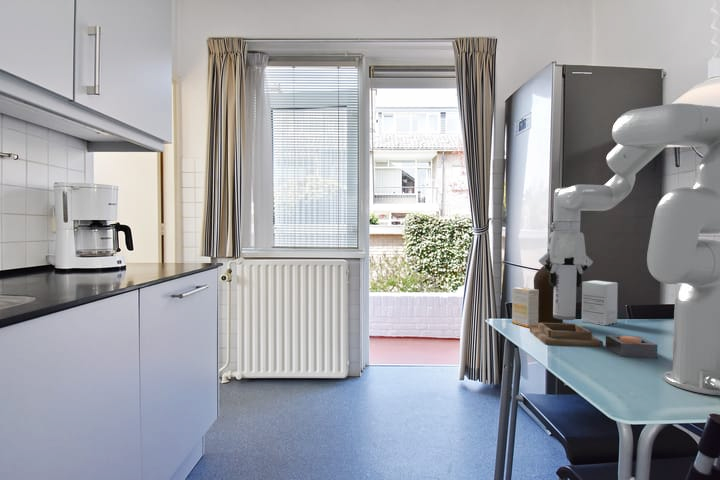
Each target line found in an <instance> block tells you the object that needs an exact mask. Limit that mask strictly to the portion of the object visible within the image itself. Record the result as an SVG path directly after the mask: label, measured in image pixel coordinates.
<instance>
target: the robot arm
mask: <svg viewBox="0 0 720 480" xmlns="http://www.w3.org/2000/svg"><path fill="white" fill-rule="evenodd" d="M611 136H612V140H613V141H614V142H615V143H616V145H615V146H614V147H613V148H612V149H611V150H610V151H609V152H608V153H607V155H606V157H605V158H606V164H607V166H608V167H609V169H610V170H611V171H612V172H613V173H615V174H614V175H613V176H612V177H611V178H610V179H609V180H608V181H607V182H606V183H605V184H603V185H602V184H582V183H581V184H575V185H574V184H573V185H570V186H567V187H559V188H556V189H555V190H554V192H553V213H552V214H553V218H552V223H549V224H548V226H547V228H548V229H551V230H552V231H551V232H550V234H549V239H548V243H547V244H548V245H547V250H546V251H547V252H546V253H545V254H544V255H542V256H541V257H540V258H539V260H538V263H539V264H540V265H542V267H543V266H544V268H545V269H546V270H547V271H548V272H549V283H550V285H552V286H556V273H555V270H556V268H557V265H562V264H564V263H565V262H564V259H565V258H571V257H574V262H573V263H574V264H575V265H577V280H576V288H579V287H581V284H582V274H584V272H585V271H586V270H587V269H588V268H589V267H590V266H592V264H593V263H594V261H593V260H592V259H591V258H590V257H589V256H588V255H587V253H586V243H585V236H584V233H583V232H581V211H585V212H586V211H590V212H591V211H593V212H595V211H597V212H604V211H609V210H611V209H613V208H614V207H617V205H618V204H620V203H621V202H622V201H623V200H625V199H626V198H627V197H628V195H629V194H630V193H631V192H632V190H633V188H634V185H635V182H636V174H637V173H639V171H641V170H642V169H643V168H644V167H645V166H646V165H647V164H648V163H649V162H651V161H652V160H653V159H654V158H655V157H656V156H657V155H659V154H660V153H661V152H662V151H663V150H664V149H665V148H666V147H668V146H684V147H694V148H695V147H698V148H705V149H707V151H706V152H705V153H704V154H703V156H702V157H701V159H700V161H699V162H698V164H697V166H696V168H695V174H694V180H693V184H692V187H690V186H688V187H687V186H686V187H685V186H684V187H679V188H678V187H677V188H675V189H672V190H670V191H668V192H667V193H666V194H665V195H664V196H662V197H661V199H660V200H659V201H658V203H657V205H656V208H655V211H654V215H653V219H652V224H651V225H652V226H651V230H650V236H649V242H648V247H647V248H648V249H647V254H646V255H647V256H646V263H647V264H646V265H647V268H648V271H649V273H650V275H651V276H652V277H653V278H654V280H657V282H661V283H663V284H666V285H667V284H668V285H679V287H678V289H677V291H676V295H675V299H674V312H673V313H674V314H673V316H674V317H673V342H672V346H673V348H672V370H668V371H665V372H664V373H663V379H664V381H665V382H666V383H668V384H670V385H672V386H675V387H677V388H679V389H682V390H686V391H689V392H690V391H691V392H693V393H694V392H695V393H700V394H705V395H711V396H712V395H713V396H720V241H719V240H715V239H714V240H713V239H708V238H706V239H704V238H703V239H702V238H699V236H700V234H705V235H708V234H709V235H711V234H712V235H715V234H720V106H713V105H712V106H711V105H703V104H692V103H682V102H681V103H671V104H669V103H668V104H663V105H662V104H661V105H656V106H648V107H643V108H635V109H631V110H628V111H626V112H624V113H623V114H621V116H619V117H618V118H617V120H616V121H615V123H614V124H613V126H612V130H611ZM546 260H547V261H548V262H549V263H551V264H550V266H549V265H548V264H547V263H546Z"/></svg>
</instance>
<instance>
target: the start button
mask: <svg viewBox="0 0 720 480" xmlns="http://www.w3.org/2000/svg"><path fill="white" fill-rule="evenodd" d="M619 336H620V340H621V341H623V342H633V343H641V339H640V338H637V337H632V336H633V335H619Z"/></svg>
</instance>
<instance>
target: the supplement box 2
mask: <svg viewBox="0 0 720 480" xmlns="http://www.w3.org/2000/svg"><path fill="white" fill-rule="evenodd" d="M581 284H582V285H581V286H582V287H581V292H582V293H581V322H583V323H584V322H585V323H589V324H595V325H599V324H600V325H599V326H605V325H607V326H610V325H613V324H612V323H614V324H616V323H618V293H619V292H618V286H619V284H618V282H616V281H615V282H614V281H613V282H612V281H605V280H594V279H593V280H588V281H581ZM609 324H610V325H609Z"/></svg>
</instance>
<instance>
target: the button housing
mask: <svg viewBox="0 0 720 480" xmlns="http://www.w3.org/2000/svg"><path fill="white" fill-rule="evenodd" d="M620 336H621V335H610V334H608V335H606V334H605V348H606V349H607V350H609V351H611V352H613V353H614V354H616V355H618V356H619V357H623V358H625V357H627V358H647V359H648V358H649V359H651V358H653V359H658V344H657V343H654V342H652V341H650V340H647V339H646V338H644V337H642V336H638V335H637V336H633V335H631V336H632V337H637V338H640V339H641V343H633V342H623V341H621V340H620Z"/></svg>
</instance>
